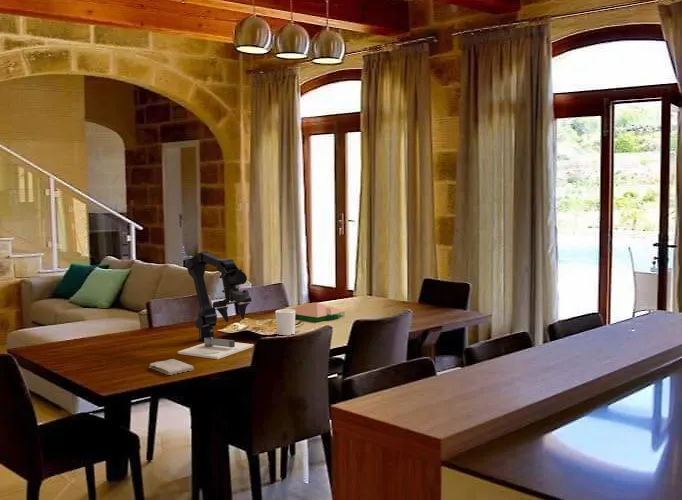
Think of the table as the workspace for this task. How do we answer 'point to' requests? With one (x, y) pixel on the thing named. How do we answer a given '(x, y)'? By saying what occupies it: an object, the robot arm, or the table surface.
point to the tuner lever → (218, 342)
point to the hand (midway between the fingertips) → (235, 320)
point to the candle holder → (285, 321)
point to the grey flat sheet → (214, 350)
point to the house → (316, 311)
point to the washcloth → (171, 366)
